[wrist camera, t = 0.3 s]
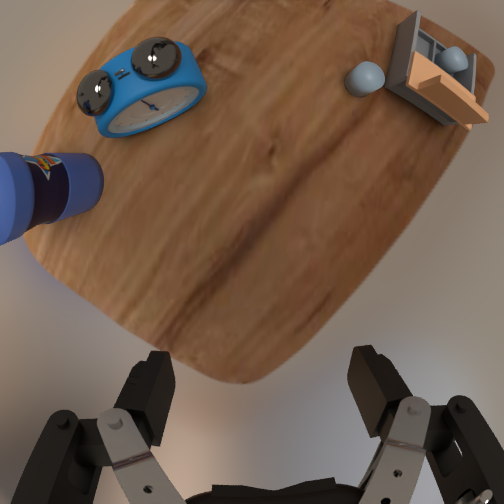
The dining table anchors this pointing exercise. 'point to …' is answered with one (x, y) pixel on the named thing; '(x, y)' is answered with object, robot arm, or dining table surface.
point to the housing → (420, 41)
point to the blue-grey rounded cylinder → (364, 79)
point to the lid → (444, 92)
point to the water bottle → (45, 189)
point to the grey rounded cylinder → (451, 60)
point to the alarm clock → (142, 87)
